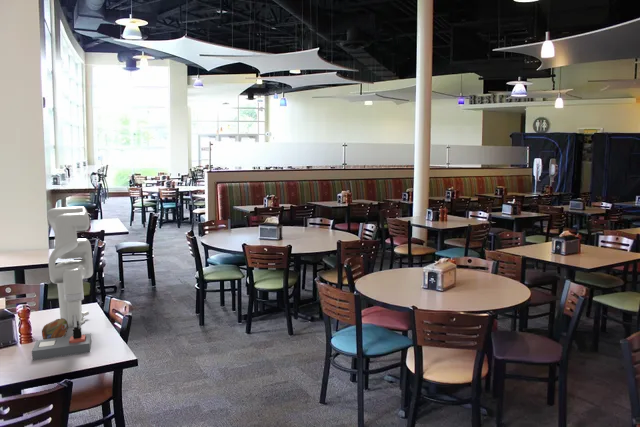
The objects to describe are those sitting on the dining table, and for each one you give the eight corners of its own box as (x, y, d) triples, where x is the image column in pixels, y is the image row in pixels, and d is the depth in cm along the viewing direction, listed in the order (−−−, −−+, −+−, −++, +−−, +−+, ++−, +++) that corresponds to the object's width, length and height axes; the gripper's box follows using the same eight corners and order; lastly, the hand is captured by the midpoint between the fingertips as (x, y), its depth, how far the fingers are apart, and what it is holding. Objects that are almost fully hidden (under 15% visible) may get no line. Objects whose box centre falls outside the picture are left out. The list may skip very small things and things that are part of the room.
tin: (47, 344, 244) (45, 326, 243) (41, 344, 245) (39, 326, 244) (69, 333, 259) (67, 316, 258) (63, 333, 260) (61, 316, 259)
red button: (86, 343, 242) (85, 334, 241) (85, 347, 236) (84, 338, 236) (71, 345, 240) (70, 336, 239) (70, 349, 234) (69, 340, 234)
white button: (56, 349, 238) (55, 340, 237) (54, 353, 232) (54, 344, 232) (41, 351, 236) (40, 342, 235) (39, 356, 230) (38, 346, 230)
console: (91, 341, 246) (91, 333, 246) (90, 352, 233) (89, 343, 233) (37, 349, 239) (36, 340, 238) (32, 360, 226) (31, 351, 225)
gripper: (66, 293, 241) (69, 333, 243) (62, 301, 227) (66, 344, 229) (84, 291, 243) (87, 331, 245) (82, 299, 229) (85, 341, 231)
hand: (77, 337), depth 237 cm, fingers closed
